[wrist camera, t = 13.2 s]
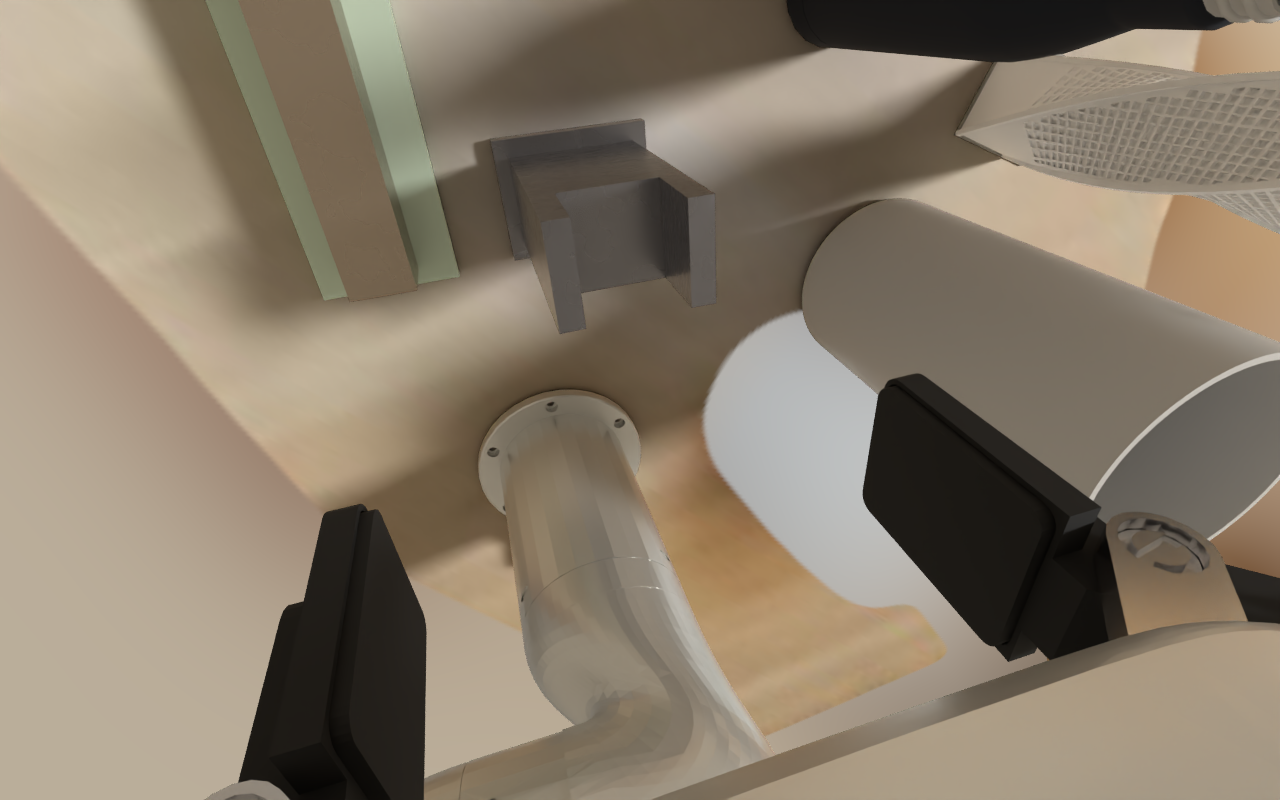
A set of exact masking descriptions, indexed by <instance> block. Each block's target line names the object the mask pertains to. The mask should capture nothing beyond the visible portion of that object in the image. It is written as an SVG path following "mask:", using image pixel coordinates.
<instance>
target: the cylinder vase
mask: <svg viewBox="0 0 1280 800" xmlns="http://www.w3.org/2000/svg"><path fill="white" fill-rule="evenodd" d="M802 309H803V315H804V319H805V322H806V325H807V327H808V329H809V331H810V333H811V334H812V336H813V337H814V339H815V340H816V341H817V342H818V343H819V344H820V345H821V346H822V347H824V348H825V349H826V350H827V351H828V352H829V353H831V354H832V355H833V356H834V357H835V358H836V359H837V360H839V361H840V362H841V363H842V364H843V365H844V366H846V367H847V368H848V369H849V370H850V371H851V372H853V373H854V374H855V375H856V376H858V378H860V379H861V380H862V381H863V382H864V383H865V384H866V385H868V386H869V387H870V388H871V389H872V390H873V391H874V392H876V393H877V394H878V395H879V392H880V391H881V390H882V389H884V387H885V384H886V383H887V381H888V380H891V379H894V378H898V377H902V376H906V375H911V374H915V373H919V374H922V375H924V376H926V377H927V378H928V379H930V380H931V381H932V382H934V383H935V384H936V385H938V386H939V387H940V388H942V389H943V390H944V391H946V392H947V393H948V394H950V395H951V396H953V397H954V398H955V399H957V400H958V401H959V402H961V403H962V404H963V405H965V406H966V407H967V408H969V409H970V410H971V411H973V412H974V413H975V414H977V415H978V416H979V417H981V418H982V419H983V420H985V421H986V422H988V423H989V424H990V425H992V426H993V427H994V428H996V429H997V430H998V431H1000V432H1001V433H1002V434H1004V435H1005V436H1006V437H1008V438H1009V439H1010V440H1012V441H1013V442H1014V443H1016V444H1017V445H1018V446H1020V447H1021V448H1023V449H1024V450H1025V451H1027V452H1028V453H1029V454H1031V455H1032V456H1033V457H1035V458H1036V459H1037V460H1039V461H1040V462H1041V463H1043V464H1044V465H1045V466H1047V467H1048V468H1049V469H1051V470H1052V471H1053V472H1055V473H1056V474H1058V475H1059V476H1060V477H1062V478H1063V479H1064V480H1066V481H1067V482H1068V483H1070V484H1071V485H1072V486H1074V487H1075V488H1076V489H1078V490H1079V491H1080V492H1082V493H1083V494H1084V495H1086V496H1087V497H1088V498H1090V499H1091V500H1093V501H1094V502H1095V503H1097V504H1098V505H1099V506H1101V510H1100V512H1099V514H1098V516H1097V517H1098V518H1100V519H1101V520H1102V521H1103V522H1105V523H1106V524H1107V523H1108V521H1109V520H1110V519H1111V518H1112V517H1113V516H1116V515H1118V514H1120V513H1125V512H1145V513H1153V514H1157V515H1160V516H1164V517H1168V518H1171V519H1173V520H1175V521H1178V522H1180V523H1182V524H1185V525H1187V526H1189V527H1190V528H1192V529H1194V530H1195V531H1197V532H1198V533H1200V534H1202V535H1203V536H1204V537H1205V538H1206V539H1208V540H1211V539H1212V538H1214V537H1215V536H1217V535H1218V534H1219V533H1221V532H1222V531H1223V530H1225V529H1226V528H1227V527H1229V526H1230V525H1231V524H1233V523H1234V522H1235V521H1236V520H1238V519H1239V518H1240V517H1241V516H1242V515H1244V514H1245V513H1246V512H1247V511H1248V510H1249V509H1251V508H1252V507H1253V506H1254V505H1255V504H1256V503H1257V502H1258V501H1259V500H1260V499H1261V498H1262V497H1263V496H1264V495H1265V494H1266V493H1267V492H1268V491H1269V490H1270V489H1271V488H1272V487H1273V486H1274V485H1275V484H1276V483H1277V482H1278V481H1279V480H1280V342H1277V341H1275V340H1272V339H1270V338H1267V337H1265V336H1262V335H1260V334H1257V333H1255V332H1252V331H1250V330H1247V329H1244V328H1242V327H1239V326H1236V325H1234V324H1232V323H1229V322H1226V321H1224V320H1221V319H1218V318H1216V317H1214V316H1211V315H1208V314H1206V313H1203V312H1201V311H1198V310H1196V309H1193V308H1191V307H1188V306H1186V305H1183V304H1180V303H1178V302H1175V301H1173V300H1170V299H1167V298H1165V297H1162V296H1160V295H1157V294H1155V293H1152V292H1150V291H1147V290H1145V289H1142V288H1140V287H1137V286H1134V285H1132V284H1129V283H1127V282H1124V281H1122V280H1119V279H1116V278H1114V277H1111V276H1109V275H1106V274H1104V273H1101V272H1099V271H1096V270H1093V269H1091V268H1088V267H1086V266H1083V265H1081V264H1078V263H1076V262H1073V261H1070V260H1068V259H1065V258H1063V257H1060V256H1058V255H1055V254H1053V253H1050V252H1047V251H1045V250H1042V249H1040V248H1037V247H1035V246H1032V245H1030V244H1027V243H1024V242H1022V241H1019V240H1017V239H1014V238H1012V237H1009V236H1006V235H1004V234H1001V233H999V232H996V231H994V230H991V229H989V228H986V227H983V226H981V225H978V224H976V223H973V222H971V221H968V220H966V219H963V218H960V217H958V216H955V215H953V214H950V213H948V212H945V211H943V210H940V209H937V208H935V207H932V206H930V205H927V204H925V203H922V202H919V201H916V200H912V199H902V198H897V199H888V200H883V201H879V202H876V203H873V204H870V205H868V206H866V207H864V208H862V209H860V210H858V211H856V212H855V213H853V214H852V215H850V216H849V217H847V218H846V219H845V220H844V221H842V222H841V223H840V224H839V225H838V226H837V227H836V228H835V229H834V230H833V231H832V232H831V233H830V234H829V235H828V236H827V238H826V239H825V240H824V241H823V243H822V244H821V246H820V247H819V249H818V250H817V252H816V254H815V255H814V257H813V259H812V261H811V263H810V266H809V268H808V271H807V274H806V277H805V281H804V285H803V292H802Z"/></svg>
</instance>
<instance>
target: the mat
mask: <svg viewBox="0 0 1280 800" xmlns="http://www.w3.org/2000/svg"><path fill="white" fill-rule="evenodd" d="M205 1H206V4H207V6H208V9H209V12H210V14H211V17H212V19H213V22H214V24H215V27H216V29H217V32H218V34H219V37H220V39H221V42H222V44H223V47H224V49H225V52H226V54H227V57H228V59H229V62H230V65H231V67H232V70H233V72H234V75H235V77H236V80H237V82H238V85H239V87H240V90H241V92H242V95H243V97H244V100H245V102H246V105H247V107H248V110H249V112H250V115H251V117H252V120H253V123H254V125H255V128H256V130H257V133H258V135H259V138H260V140H261V143H262V145H263V148H264V150H265V153H266V155H267V158H268V160H269V163H270V165H271V168H272V170H273V173H274V175H275V178H276V181H277V183H278V186H279V188H280V191H281V193H282V196H283V198H284V201H285V203H286V206H287V208H288V211H289V213H290V216H291V218H292V221H293V223H294V226H295V228H296V231H297V234H298V236H299V239H300V241H301V244H302V246H303V249H304V251H305V254H306V256H307V259H308V261H309V264H310V266H311V269H312V271H313V274H314V276H315V279H316V281H317V284H318V286H319V289H320V292H321V294H322V297H323V299H324V301H325V300H330V299H336V298H342V297H347V294H346V291H345V288H344V286H343V283H342V280H341V277H340V275H339V272H338V269H337V267H336V264H335V261H334V258H333V256H332V253H331V250H330V248H329V245H328V242H327V240H326V237H325V234H324V231H323V229H322V226H321V223H320V221H319V218H318V215H317V213H316V210H315V207H314V204H313V202H312V199H311V196H310V194H309V191H308V188H307V186H306V183H305V180H304V177H303V175H302V172H301V169H300V167H299V164H298V161H297V159H296V156H295V153H294V150H293V148H292V145H291V142H290V140H289V137H288V134H287V132H286V129H285V126H284V123H283V121H282V118H281V115H280V113H279V110H278V107H277V105H276V102H275V99H274V96H273V94H272V91H271V88H270V86H269V83H268V80H267V78H266V75H265V72H264V69H263V67H262V64H261V61H260V59H259V56H258V53H257V50H256V48H255V45H254V42H253V40H252V37H251V34H250V32H249V29H248V26H247V23H246V21H245V18H244V15H243V13H242V10H241V7H240V5H239V2H238V0H205ZM340 1H341V5H342V8H343V11H344V15H345V18H346V22H347V25H348V29H349V32H350V35H351V39H352V42H353V46H354V49H355V52H356V56H357V59H358V63H359V66H360V70H361V73H362V76H363V80H364V83H365V87H366V90H367V93H368V97H369V100H370V104H371V107H372V111H373V114H374V117H375V121H376V124H377V128H378V131H379V134H380V138H381V141H382V145H383V148H384V152H385V155H386V158H387V162H388V165H389V169H390V172H391V175H392V179H393V182H394V186H395V189H396V193H397V196H398V199H399V203H400V206H401V210H402V213H403V216H404V220H405V223H406V227H407V230H408V234H409V237H410V240H411V244H412V247H413V251H414V254H415V257H416V261H417V264H418V268H419V271H418V284H422V283H428V282H433V281H439V280H445V279H450V278H456V277H460V273H459V269H458V266H457V262H456V258H455V254H454V250H453V246H452V242H451V238H450V234H449V231H448V227H447V223H446V219H445V215H444V211H443V207H442V203H441V199H440V195H439V192H438V188H437V184H436V180H435V176H434V172H433V168H432V164H431V160H430V157H429V153H428V149H427V145H426V141H425V137H424V133H423V129H422V125H421V121H420V118H419V114H418V110H417V106H416V102H415V98H414V94H413V90H412V86H411V82H410V79H409V75H408V71H407V67H406V63H405V59H404V55H403V51H402V47H401V44H400V40H399V36H398V32H397V28H396V24H395V20H394V16H393V12H392V8H391V5H390V1H389V0H340Z"/></svg>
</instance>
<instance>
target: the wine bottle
mask: <svg viewBox="0 0 1280 800" xmlns="http://www.w3.org/2000/svg"><path fill="white" fill-rule="evenodd" d="M787 5H788V12H789V15H790V17H791V20H792V22H793V25H794V27H795V29H796V30H797V31H798V32H799V33H800V35H801V36H802V37H803V38H804V39H805V40H806V41H808V42H810V43H812V44H814V45H817V46H819V47H828V48H840V49H851V50H862V51H873V52H885V53H896V54H907V55H918V56H930V57H941V58H952V59H963V60H975V61H986V62H1018V61H1026V60H1033V59H1039V58H1044V57H1049V56H1054V55H1059V54H1064V53H1067V52H1070V51H1073V50H1076V49H1079V48H1082V47H1085V46H1088V45H1091V44H1094V43H1097V42H1100V41H1103V40H1105V39H1108V38H1111V37H1114V36H1117V35H1120V34H1122V33H1125V32H1128V31H1131V30H1134V29H1172V30H1217V29H1219V28H1222V27H1224V26H1227V25H1230V24H1232V23H1234V22H1236V23H1246V22H1249V21H1251V20H1254V21H1255V22H1257V23H1273V22H1276V21H1279V20H1280V0H787Z"/></svg>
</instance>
